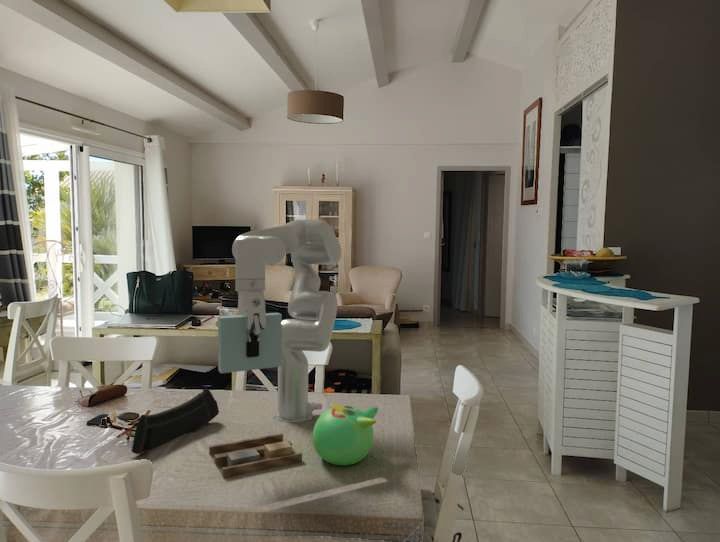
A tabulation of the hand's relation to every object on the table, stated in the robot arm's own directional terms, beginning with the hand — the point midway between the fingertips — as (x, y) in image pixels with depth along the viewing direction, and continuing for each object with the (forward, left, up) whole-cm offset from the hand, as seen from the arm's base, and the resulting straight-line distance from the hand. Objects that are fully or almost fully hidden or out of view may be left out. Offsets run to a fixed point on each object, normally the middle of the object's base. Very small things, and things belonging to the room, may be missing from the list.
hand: (250, 354), depth 137 cm
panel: (0, 0, -4) cm, 4 cm away
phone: (+30, -41, -28) cm, 58 cm away
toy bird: (-21, +14, -27) cm, 37 cm away
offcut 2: (-5, +8, -26) cm, 28 cm away
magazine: (+15, -21, -28) cm, 37 cm away
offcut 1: (+4, +8, -26) cm, 27 cm away
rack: (0, +4, -27) cm, 27 cm away
